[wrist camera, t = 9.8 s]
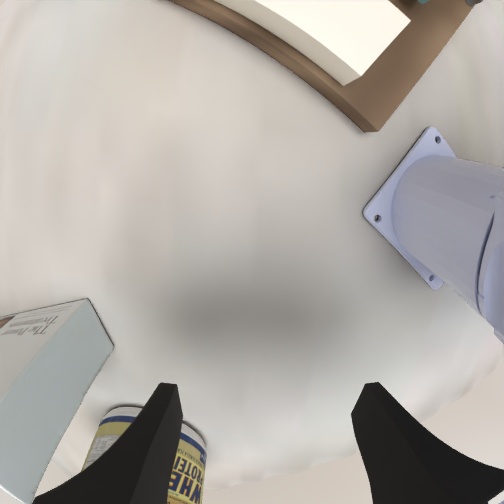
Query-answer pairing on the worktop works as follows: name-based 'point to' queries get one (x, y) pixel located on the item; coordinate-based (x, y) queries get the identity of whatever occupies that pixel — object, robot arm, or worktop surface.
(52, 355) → the skincare box
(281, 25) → the white rectangular block
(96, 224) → the worktop surface
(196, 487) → the supplement tub
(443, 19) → the panel
